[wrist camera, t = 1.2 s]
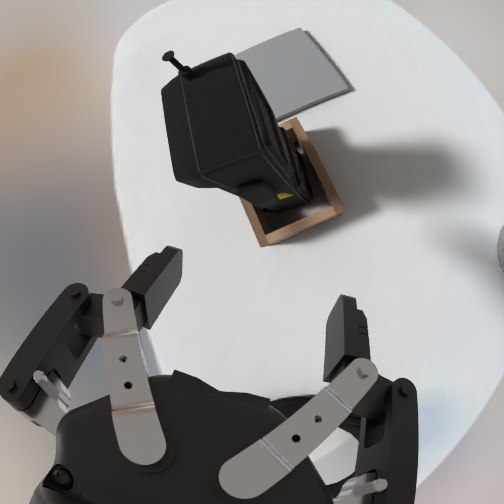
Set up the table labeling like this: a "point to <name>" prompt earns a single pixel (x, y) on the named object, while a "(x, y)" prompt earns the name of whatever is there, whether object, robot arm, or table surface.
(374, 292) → the table surface
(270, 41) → the slate mat
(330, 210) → the walnut collar
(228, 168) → the portable radio
